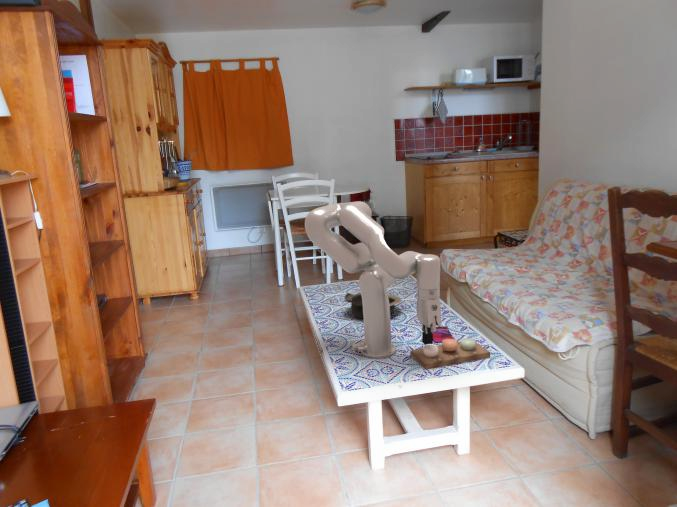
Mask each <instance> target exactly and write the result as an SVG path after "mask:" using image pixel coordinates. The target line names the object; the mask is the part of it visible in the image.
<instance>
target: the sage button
mask: <svg viewBox="0 0 677 507" xmlns="http://www.w3.org/2000/svg"><path fill="white" fill-rule="evenodd" d="M459 342H461V349H463V350H474V349H475V342H476V340H475V339H474V338H470V337H469V338H468V337H465V338H462V339H460V341H459Z"/></svg>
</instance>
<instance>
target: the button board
mask: <svg viewBox="0 0 677 507" xmlns="http://www.w3.org/2000/svg"><path fill="white" fill-rule="evenodd" d="M437 346H438V356H436V357H426V356H424V354H423V347H422V348H418V349H417V348H416V349H411V350H410V357H411V358H412V359H413V360H414V361H415V362H416V363H417V364H418V365H419V366H421V368H423V370H425V371H427V370H431V369H432V370H433V369H437V368H441V367H446V366H447V367H448V366H453V365H457V364H463V363H467V362H469V363H470V362H474V361H479V360H485V359H490V358H491V352H490V350H488V349H487V348H485V347H484V346H482V345H480V344H479V343H478V342H476V341H475V349H474V350H463V349H461V342H460V341H457V349H456V350H454V351H446V350H443V349H442V344H440V345H437Z"/></svg>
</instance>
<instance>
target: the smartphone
mask: <svg viewBox="0 0 677 507" xmlns="http://www.w3.org/2000/svg"><path fill="white" fill-rule="evenodd" d="M430 328H431V327H430ZM444 339H454V337H453V334H452V332H450V329H449V328H448V326H446V325H445V326H442V325H441V326H440V327H439V326H436V332H434V333H433V344H442V340H444Z"/></svg>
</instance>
